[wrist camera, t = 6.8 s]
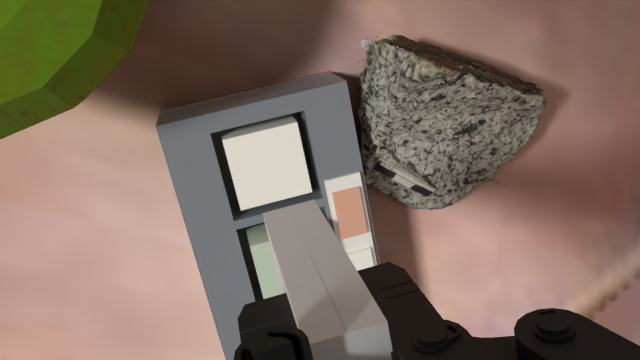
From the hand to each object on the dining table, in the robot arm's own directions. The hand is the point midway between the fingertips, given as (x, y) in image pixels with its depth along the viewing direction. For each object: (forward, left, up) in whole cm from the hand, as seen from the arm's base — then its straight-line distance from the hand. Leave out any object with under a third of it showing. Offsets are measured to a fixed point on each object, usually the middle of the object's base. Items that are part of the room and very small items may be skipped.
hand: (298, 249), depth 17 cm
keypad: (+5, 0, -12) cm, 13 cm away
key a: (0, 0, -11) cm, 11 cm away
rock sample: (+1, +9, -13) cm, 16 cm away
